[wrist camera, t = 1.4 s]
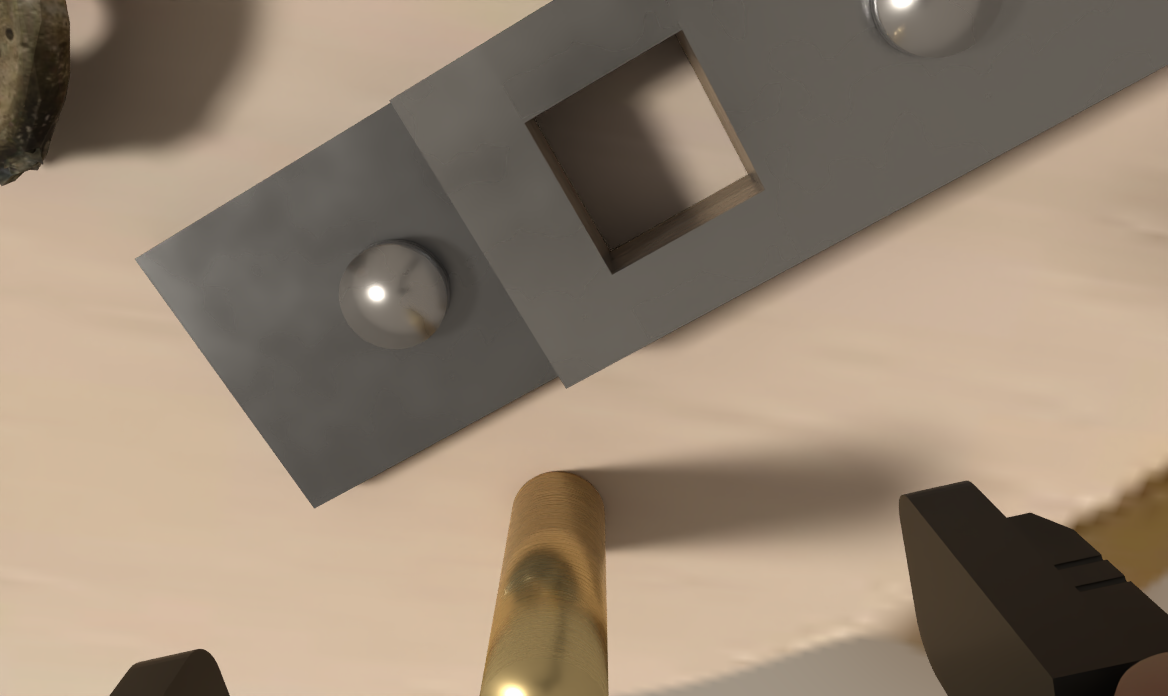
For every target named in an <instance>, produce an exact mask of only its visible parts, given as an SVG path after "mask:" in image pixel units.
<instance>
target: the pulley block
mask: <svg viewBox="0 0 1168 696" xmlns="http://www.w3.org/2000/svg"><path fill="white" fill-rule="evenodd" d="M69 77H70V21H69V16H68V11H67V5H66V0H0V184H1V186H3V185H6V184H8V183H11V182H13V181H15V180H16V179H17V178H18V177H19V176H20V175H21V174H23V173H24V172H25V171H28V170H38V169H39V167H40V165H41V164H43V160H44V158H45V156H46V154H47V152H48V148H49V145H50V141H51V137H52V134H53V131H54V129H55V126H56V123H57V121H58V118H59V115H60V112H61V110H62V107H63V104H64V101H65V98H66V93H67V87H68V82H69Z"/></svg>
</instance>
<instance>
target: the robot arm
mask: <svg viewBox="0 0 1168 696" xmlns="http://www.w3.org/2000/svg"><path fill="white" fill-rule="evenodd" d="M899 515H900V522H901V528H902V534H903V540H904V546H905V552H906V558H907V564H908V570H909V576H910V582H911V588H912V594H913V600H914V606H915V612H916V617H917V623H918V627H919V631H920V635H921V639H922V642H923V645H924V648H925V651H926V654H927V657H928V659H929V662H930V664H931V666H932V669H933V671H934V673H935V675H936V677H937V678H938V680H939V682H940V683H941V685H942V687H943V688H944V690H945V691H946V693H947V695H948V696H1168V614H1167V613H1165V612H1164V611H1163V610H1162V609H1161V608H1160V607H1159V606H1158V605H1157V604H1155V603H1154V602H1153V601H1152V600H1151V599H1150V598H1149V597H1148V596H1147V595H1145V594H1144V593H1143V592H1142V591H1141V590H1140V589H1139V588H1138V587H1137V586H1135V585H1134V584H1133V583H1132V582H1131V581H1130V582H1127V581H1126V579H1125V576H1124V575H1123V574H1122V573H1121V572H1120V571H1119V570H1118V569H1117V568H1115V567H1114V566H1113V565H1112V564H1111V563H1110V562H1109V561H1108V560H1103V559H1102V556H1101V554H1100V553H1099V552H1098V551H1097V550H1095V549H1094V548H1093V547H1092V546H1091V545H1090V544H1089V543H1088V542H1087V541H1085V540H1084V539H1083V538H1082V537H1081V536H1080V535H1079V534H1078V533H1077V532H1075V531H1074V530H1073V529H1070V528H1068V527H1065V526H1063V525H1060V524H1058V523H1055V522H1053V521H1050V520H1048V519H1045V518H1043V517H1040V516H1038V515H1035V514H1033V513H1027V514H1022V515H1017V516H1013V517H1008V518H1006V517H1005V516H1004V515H1003V514H1002V513H1001V512H1000V511H999V510H998V509H997V508H996V507H995V506H994V505H993V504H992V503H991V502H990V500H989V499H988V498H987V497H986V496H985V495H984V494H983V493H982V492H981V491H980V490H979V489H978V488H977V487H976V486H975V485H974V484H972V483H971V482H970V481H962V482H958V483H953V484H949V485H944V486H940V487H935V488H931V489H926V490H922V491H917V492H913V493H908V494H904V495H901V496H900V499H899ZM110 696H230V695H229V693H228V690H227V687H226V685H225V682H224V680H223V677H222V674H221V672H220V669H219V667H218V665H217V663H216V661H215V659H214V658H213V656H212V655H211V654H210V653H209V652H207V651H206V650H204V649H196V650H192V651H187V652H183V653H178V654H174V655H169V656H165V657H160V658H156V659H151V660H147V661H142V662H138V663H136V664H134V665H133V666H132V667H131V668H130V669H129V670H128V672H127V673H126V674H125V676H124V677H123V678H122V680H121V681H120V682H119V684H118V685H117V686H116V688H115V689H114V690H113V692H112V693H111V694H110Z"/></svg>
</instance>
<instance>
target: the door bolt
mask: <svg viewBox="0 0 1168 696" xmlns="http://www.w3.org/2000/svg"><path fill="white" fill-rule="evenodd" d="M674 34H675V35H676V37H677V38H678V40H679V42H680V44H681V46H682V48H683V50H684V52H685V54H686V56H687V58H688V60H689V61H690V63H691V65H692V67H693V69H694V71H695V73H696V75H697V77H698V79H699V81H700V83H701V84H702V86H703V88H704V90H705V92H706V94H707V96H708V98H709V100H710V102H711V104H712V106H713V108H714V109H715V111H716V113H717V115H718V117H719V119H720V121H721V123H722V125H723V127H724V129H725V131H726V132H727V134H728V136H729V138H730V140H731V142H732V144H733V146H734V148H735V150H736V152H737V154H738V155H739V157H740V159H741V161H742V163H743V165H744V167H745V169H746V171H747V173H748V175H747V176H745V177H743V178H741V179H739V180H738V181H736V182H734V183H732V184H730V185H729V186H727V187H725V188H723V189H722V190H720V191H718V192H716V193H714V194H713V195H711V196H709V197H707V198H705V199H704V200H702V201H700V202H698V203H696V204H695V205H693V206H691V207H689V208H688V209H686V210H684V211H682V212H680V213H679V214H677V215H675V216H673V217H671V218H670V219H668V220H666V221H664V222H662V223H661V224H659V225H657V226H655V227H654V228H652V229H650V230H648V231H646V232H645V233H643V234H641V235H639V236H637V237H636V238H634V239H632V240H630V241H629V242H627V243H625V244H623V245H621V246H620V247H618V248H616V249H614V250H612V251H611V252H610V250H609V249H608V247H607V245H606V243H605V242H604V240H603V238H602V236H601V235H600V233H599V231H598V230H597V228H596V226H595V224H594V223H593V221H592V219H591V217H590V216H589V214H588V212H587V210H586V209H585V207H584V205H583V203H582V202H581V200H580V198H579V196H578V195H577V193H576V191H575V190H574V188H573V186H572V184H571V183H570V181H569V179H568V177H567V176H566V174H565V172H564V170H563V169H562V167H561V165H560V163H559V162H558V160H557V158H556V156H555V155H554V153H553V151H552V150H551V148H550V146H549V144H548V143H547V141H546V139H545V137H544V136H543V134H542V132H541V130H540V129H539V127H538V125H537V123H536V122H535V120H534V117H535V116H537V115H539V114H541V113H542V112H544V111H546V110H547V109H549V108H551V107H552V106H554V105H556V104H557V103H559V102H561V101H562V100H564V99H566V98H568V97H569V96H571V95H573V94H574V93H576V92H578V91H579V90H581V89H583V88H584V87H586V86H588V85H590V84H591V83H593V82H595V81H596V80H598V79H600V78H601V77H603V76H605V75H606V74H608V73H610V72H611V71H613V70H615V69H617V68H618V67H620V66H622V65H623V64H625V63H627V62H628V61H630V60H632V59H633V58H635V57H637V56H639V55H640V54H642V53H644V52H645V51H647V50H649V49H650V48H652V47H654V46H655V45H657V44H659V43H661V42H662V41H664V40H666V39H667V38H669V37H671V36H672V35H674ZM1166 65H1168V0H553V1H551V2H550V3H548V4H546V5H545V6H543V7H541V8H540V9H538V10H537V11H535V12H533V13H532V14H530V15H528V16H527V17H525V18H523V19H522V20H520V21H519V22H517V23H515V24H514V25H512V26H510V27H509V28H507V29H505V30H504V31H502V32H501V33H499V34H497V35H496V36H494V37H492V38H491V39H489V40H487V41H486V42H484V43H483V44H481V45H479V46H478V47H476V48H474V49H473V50H471V51H469V52H468V53H466V54H465V55H463V56H461V57H460V58H458V59H456V60H455V61H453V62H451V63H450V64H448V65H447V66H445V67H443V68H442V69H440V70H438V71H437V72H435V73H433V74H432V75H430V76H429V77H427V78H425V79H424V80H422V81H420V82H419V83H417V84H415V85H414V86H412V87H411V88H409V89H407V90H406V91H404V92H402V93H401V94H399V95H397V96H396V97H394V98H393V99H391V100H389V101H390V102H391V103H390V104H388V105H386V106H385V107H383V108H381V109H380V110H378V111H376V112H375V113H373V114H372V115H370V116H368V117H367V118H365V119H363V120H362V121H360V122H358V123H357V124H355V125H354V126H352V127H350V128H349V129H347V130H345V131H344V132H342V133H340V134H339V135H337V136H335V137H334V138H332V139H331V140H329V141H327V142H326V143H324V144H322V145H321V146H319V147H317V148H316V149H314V150H313V151H311V152H309V153H308V154H306V155H304V156H303V157H301V158H299V159H298V160H296V161H295V162H293V163H291V164H290V165H288V166H286V167H285V168H283V169H281V170H280V171H278V172H277V173H275V174H273V175H272V176H270V177H268V178H267V179H265V180H263V181H262V182H260V183H258V184H257V185H255V186H254V187H252V188H250V189H249V190H247V191H245V192H244V193H242V194H240V195H239V196H237V197H236V198H234V199H232V200H231V201H229V202H227V203H226V204H224V205H222V206H221V207H219V208H218V209H216V210H214V211H213V212H211V213H209V214H208V215H206V216H204V217H203V218H201V219H200V220H198V221H196V222H195V223H193V224H191V225H190V226H188V227H186V228H185V229H183V230H182V231H180V232H178V233H177V234H175V235H173V236H172V237H170V238H168V239H167V240H165V241H163V242H162V243H160V244H159V245H157V246H155V247H154V248H152V249H150V250H149V251H147V252H145V253H144V254H142V255H141V256H139V257H137V258H136V259H135V260H136V261H137V263H138V264H139V266H140V267H141V268H142V270H143V271H144V273H145V274H146V275H147V277H148V278H149V280H150V281H151V282H152V284H153V285H154V286H155V288H156V289H157V291H158V292H159V293H160V295H161V296H162V298H163V299H164V300H165V302H166V303H167V305H168V306H169V307H170V309H171V310H172V311H173V313H174V314H175V316H176V317H177V318H178V320H179V321H180V323H181V324H182V325H183V327H184V328H185V330H186V331H187V332H188V334H189V335H190V336H191V338H192V339H193V341H194V342H195V343H196V345H197V346H198V348H199V349H200V350H201V352H202V353H203V355H204V356H205V357H206V359H207V360H208V362H209V363H210V364H211V366H212V367H213V368H214V370H215V371H216V373H217V374H218V375H219V377H220V378H221V380H222V381H223V382H224V384H225V385H226V387H227V388H228V389H229V391H230V392H231V393H232V395H233V396H234V398H235V399H236V400H237V402H238V403H239V405H240V406H241V407H242V409H243V410H244V412H245V413H246V414H247V416H248V417H249V418H250V420H251V421H252V423H253V424H254V425H255V427H256V428H257V430H258V431H259V432H260V434H261V435H262V437H263V438H264V439H265V441H266V442H267V443H268V445H269V446H270V448H271V449H272V450H273V452H274V453H275V455H276V456H277V457H278V459H279V460H280V462H281V463H282V464H283V466H284V467H285V468H286V470H287V471H288V473H289V474H290V475H291V477H292V478H293V480H294V481H295V482H296V484H297V485H298V487H299V488H300V489H301V491H302V492H303V493H304V495H305V496H306V498H307V499H308V500H309V502H310V503H311V505H312V506H313V507H314V508H316V507H318V506H320V505H322V504H324V503H325V502H327V501H329V500H331V499H333V498H335V497H336V496H338V495H340V494H342V493H344V492H346V491H348V490H349V489H351V488H353V487H355V486H357V485H359V484H360V483H362V482H364V481H366V480H368V479H370V478H372V477H373V476H375V475H377V474H379V473H381V472H383V471H384V470H386V469H388V468H390V467H392V466H394V465H396V464H397V463H399V462H401V461H403V460H405V459H407V458H408V457H410V456H412V455H414V454H416V453H418V452H420V451H421V450H423V449H425V448H427V447H429V446H431V445H432V444H434V443H436V442H438V441H440V440H442V439H444V438H445V437H447V436H449V435H451V434H453V433H455V432H456V431H458V430H460V429H462V428H464V427H466V426H468V425H469V424H471V423H473V422H475V421H477V420H479V419H480V418H482V417H484V416H486V415H488V414H490V413H492V412H493V411H495V410H497V409H499V408H501V407H503V406H504V405H506V404H508V403H510V402H512V401H514V400H516V399H517V398H519V397H521V396H523V395H525V394H527V393H528V392H530V391H532V390H534V389H536V388H538V387H540V386H541V385H543V384H545V383H547V382H549V381H551V380H552V379H554V378H556V377H558V376H559V378H560V379H561V381H562V383H563V384H564V386H565V388H566V389H567V388H568V387H570V386H572V385H574V384H576V383H578V382H580V381H581V380H583V379H585V378H587V377H589V376H591V375H593V374H594V373H596V372H598V371H600V370H602V369H604V368H606V367H607V366H609V365H611V364H613V363H615V362H617V361H619V360H620V359H622V358H624V357H626V356H628V355H630V354H632V353H633V352H635V351H637V350H639V349H641V348H643V347H645V346H646V345H648V344H650V343H652V342H654V341H656V340H658V339H659V338H661V337H663V336H665V335H667V334H669V333H671V332H672V331H674V330H676V329H678V328H680V327H682V326H684V325H685V324H687V323H689V322H691V321H693V320H695V319H697V318H698V317H700V316H702V315H704V314H706V313H708V312H710V311H711V310H713V309H715V308H717V307H719V306H721V305H723V304H724V303H726V302H728V301H730V300H732V299H734V298H736V297H737V296H739V295H741V294H743V293H745V292H747V291H749V290H750V289H752V288H754V287H756V286H758V285H760V284H762V283H763V282H765V281H767V280H769V279H771V278H773V277H775V276H776V275H778V274H780V273H782V272H784V271H786V270H788V269H789V268H791V267H793V266H795V265H797V264H799V263H801V262H802V261H804V260H806V259H808V258H810V257H812V256H814V255H815V254H817V253H819V252H821V251H823V250H825V249H827V248H828V247H830V246H832V245H834V244H836V243H838V242H840V241H841V240H843V239H845V238H847V237H849V236H851V235H853V234H854V233H856V232H858V231H860V230H862V229H864V228H866V227H867V226H869V225H871V224H873V223H875V222H877V221H879V220H880V219H882V218H884V217H886V216H888V215H890V214H892V213H893V212H895V211H897V210H899V209H901V208H903V207H905V206H906V205H908V204H910V203H912V202H914V201H916V200H918V199H919V198H921V197H923V196H925V195H927V194H929V193H931V192H932V191H934V190H936V189H938V188H940V187H942V186H944V185H945V184H947V183H949V182H951V181H953V180H955V179H957V178H958V177H960V176H962V175H964V174H966V173H968V172H970V171H971V170H973V169H975V168H977V167H979V166H981V165H983V164H984V163H986V162H988V161H990V160H992V159H994V158H996V157H997V156H999V155H1001V154H1003V153H1005V152H1007V151H1009V150H1010V149H1012V148H1014V147H1016V146H1018V145H1020V144H1022V143H1023V142H1025V141H1027V140H1029V139H1031V138H1033V137H1035V136H1036V135H1038V134H1040V133H1042V132H1044V131H1046V130H1048V129H1049V128H1051V127H1053V126H1055V125H1057V124H1059V123H1061V122H1062V121H1064V120H1066V119H1068V118H1070V117H1072V116H1074V115H1075V114H1077V113H1079V112H1081V111H1083V110H1085V109H1087V108H1088V107H1090V106H1092V105H1094V104H1096V103H1098V102H1100V101H1101V100H1103V99H1105V98H1107V97H1109V96H1111V95H1113V94H1114V93H1116V92H1118V91H1120V90H1122V89H1124V88H1126V87H1127V86H1129V85H1131V84H1133V83H1135V82H1137V81H1139V80H1140V79H1142V78H1144V77H1146V76H1148V75H1150V74H1152V73H1153V72H1155V71H1157V70H1159V69H1161V68H1163V67H1165V66H1166Z"/></svg>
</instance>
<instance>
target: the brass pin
mask: <svg viewBox="0 0 1168 696" xmlns="http://www.w3.org/2000/svg"><path fill="white" fill-rule="evenodd" d="M480 696H608V650H607V602H606V553H605V511H604V505H603V501H602V499H601V497H600V495H599V493H598V492H597V490H596V489H595V488H594V487H593V486H592V484H590V483H589V482H588V481H587V480H585V479H583V478H582V477H580V476H577V475H575V474H572V473H568V472H559V471H558V472H548V473H544V474H541V475H538V476H536V477H534V478H532V479H531V480H529V481H528V482H527V483H526V484H524V486H523V487H522V488H521V489H520V490H519V492H518V493H517V495H516V497H515V500H514V503H513V508H512V513H511V519H510V525H509V530H508V536H507V542H506V548H505V553H504V559H503V565H502V571H501V576H500V582H499V588H498V594H497V599H496V605H495V611H494V617H493V622H492V628H491V634H490V640H489V645H488V651H487V657H486V663H485V668H484V674H483V680H482V685H481V691H480Z"/></svg>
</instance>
